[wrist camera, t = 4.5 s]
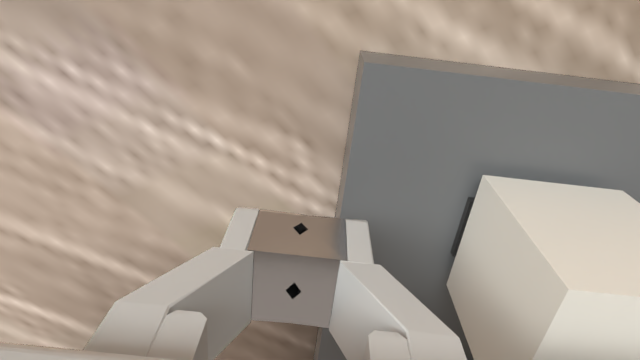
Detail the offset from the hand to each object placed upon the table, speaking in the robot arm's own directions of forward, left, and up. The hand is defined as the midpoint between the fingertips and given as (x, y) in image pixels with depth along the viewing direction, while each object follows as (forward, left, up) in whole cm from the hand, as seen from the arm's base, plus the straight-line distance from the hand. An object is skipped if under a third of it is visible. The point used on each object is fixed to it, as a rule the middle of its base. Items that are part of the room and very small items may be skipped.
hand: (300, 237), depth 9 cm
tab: (-6, 0, -1) cm, 6 cm away
